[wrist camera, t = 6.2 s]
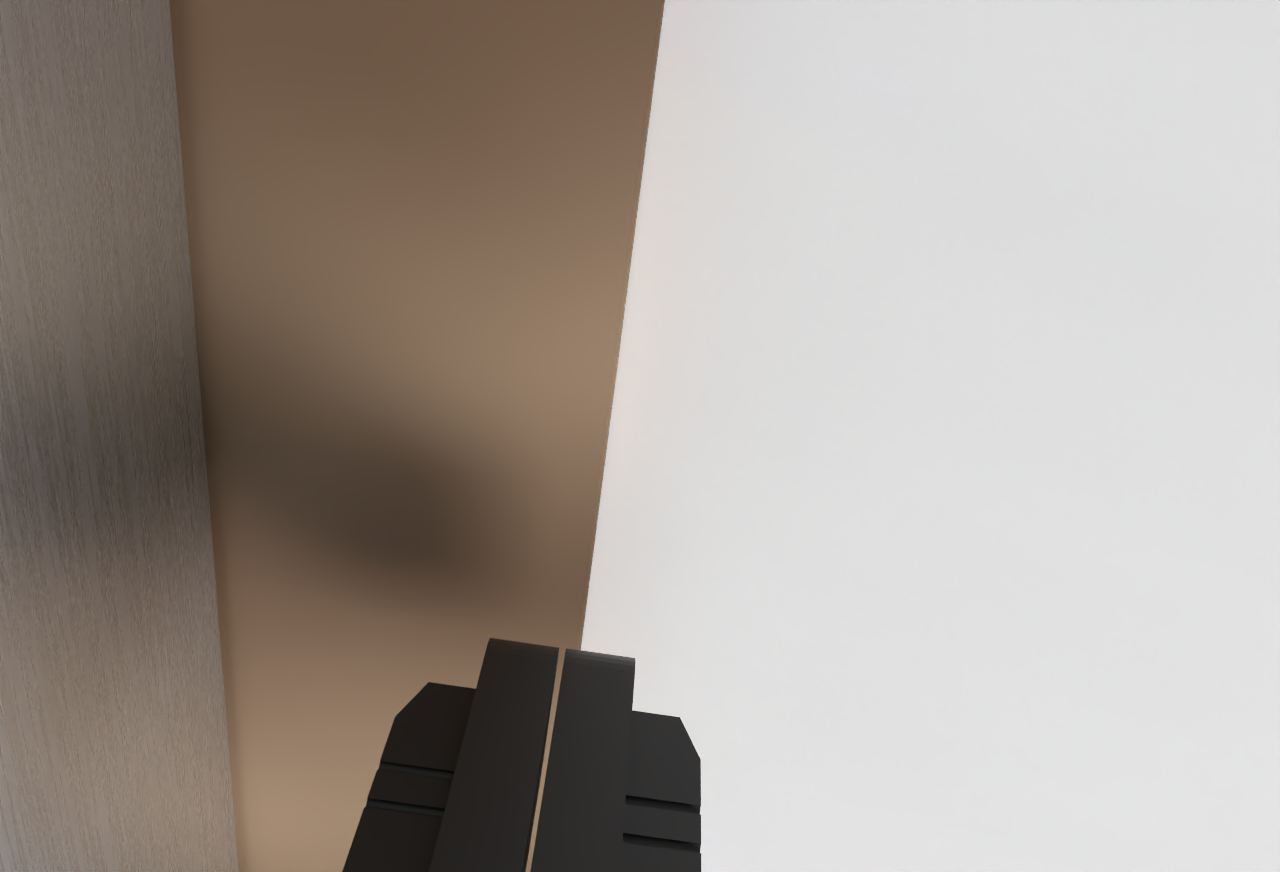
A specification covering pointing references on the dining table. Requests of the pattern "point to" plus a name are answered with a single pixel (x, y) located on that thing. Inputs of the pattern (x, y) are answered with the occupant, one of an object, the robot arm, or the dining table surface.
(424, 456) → the walnut board
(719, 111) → the dining table surface
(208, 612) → the tongs swing arm
